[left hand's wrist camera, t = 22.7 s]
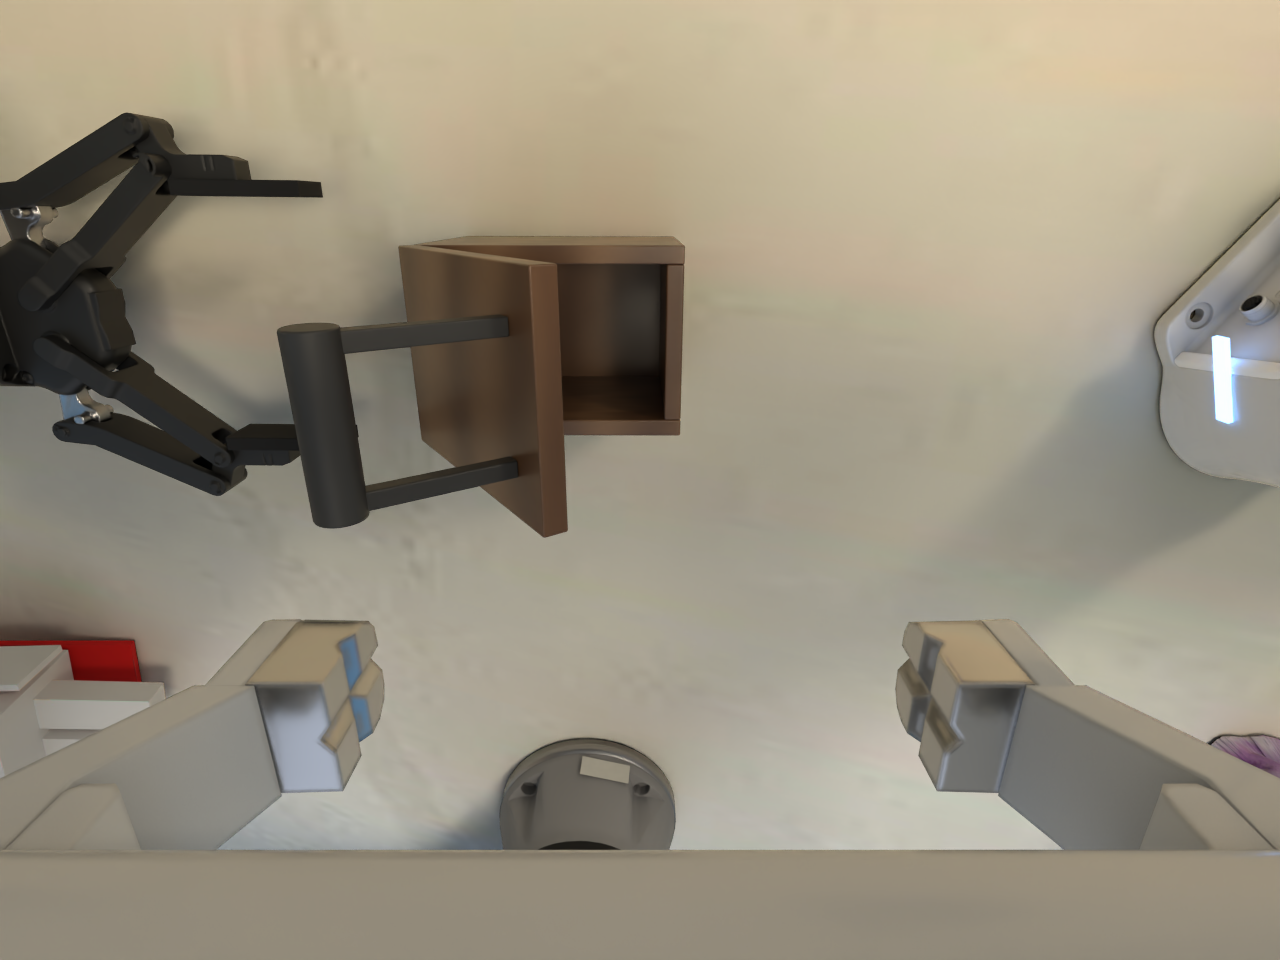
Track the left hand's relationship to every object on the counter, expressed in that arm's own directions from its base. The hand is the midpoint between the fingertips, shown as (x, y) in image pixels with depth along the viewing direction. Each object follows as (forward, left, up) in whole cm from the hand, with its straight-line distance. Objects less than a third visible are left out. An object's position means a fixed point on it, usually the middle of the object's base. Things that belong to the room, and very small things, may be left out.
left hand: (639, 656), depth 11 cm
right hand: (+7, -16, -30) cm, 34 cm away
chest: (+2, -4, -37) cm, 37 cm away
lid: (+3, -6, -20) cm, 21 cm away
